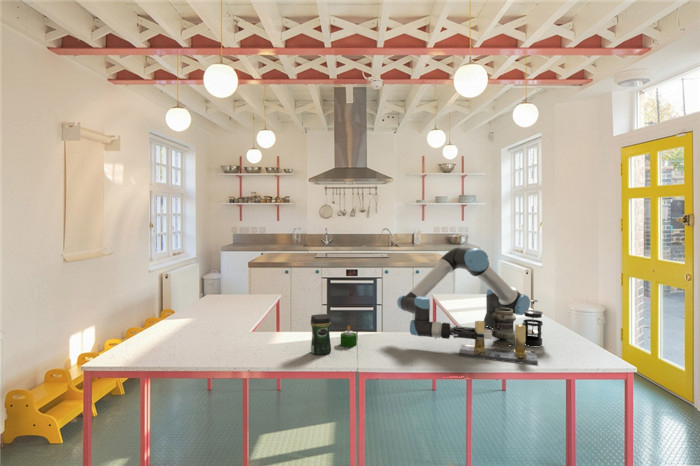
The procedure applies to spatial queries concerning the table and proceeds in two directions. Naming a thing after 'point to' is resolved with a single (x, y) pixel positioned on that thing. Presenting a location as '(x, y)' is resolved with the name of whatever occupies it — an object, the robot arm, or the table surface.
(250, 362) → the table surface
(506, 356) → the bolt plate
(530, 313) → the french press
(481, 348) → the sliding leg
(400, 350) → the table surface
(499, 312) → the grey brown stone vase
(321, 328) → the coffee jar
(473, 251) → the robot arm
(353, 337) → the candle
